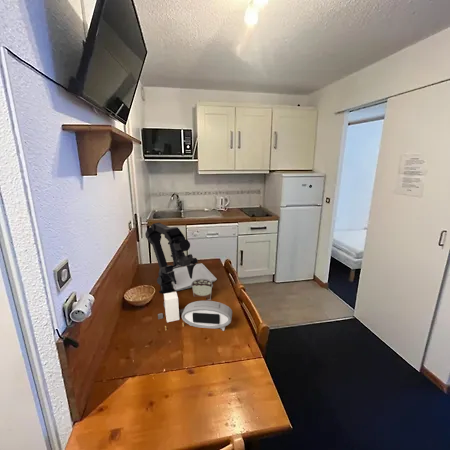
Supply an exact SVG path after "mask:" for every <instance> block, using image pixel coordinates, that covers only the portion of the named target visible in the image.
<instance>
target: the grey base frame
mask: <svg viewBox="0 0 450 450" xmlns="http://www.w3.org/2000/svg"><path fill="white" fill-rule="evenodd" d="M163 307H164V308H165V302H164V301H163ZM184 309H185V308H181V309H179V314H180V315H181V316H182V313H183V311H184ZM157 319H158V320H160V319H161V320H162V319H164V314H163V313H162V312H161V313H158V314H157ZM184 323H185V322H184V321H182V327H185V324H184ZM164 330H165V331H167V326H166V325H164Z"/></svg>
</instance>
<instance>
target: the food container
mask: <svg viewBox="0 0 450 450" xmlns="http://www.w3.org/2000/svg"><path fill="white" fill-rule="evenodd" d="M191 286H192V287H191V289H192V294H193V297H194V298H195V297H196V298H206V301H212V288H214V284H213V282H211V281H210V280H208V279H197V280H195V281H193V282H192V284H191Z"/></svg>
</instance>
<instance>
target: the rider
mask: <svg viewBox="0 0 450 450" xmlns="http://www.w3.org/2000/svg"><path fill="white" fill-rule="evenodd" d="M163 300H164V301H163V303H164V302H165V307H164V311H165V313H164V314H165V318H166V319H165V321H166V323H170V322H175V321H180V309H179V297H178V293H177V291H173V292H171V293H165V294H163Z"/></svg>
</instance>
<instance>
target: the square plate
mask: <svg viewBox="0 0 450 450" xmlns="http://www.w3.org/2000/svg"><path fill="white" fill-rule="evenodd" d="M195 264H196V265H195V266H194V268H193V274H192V279H191V278H190V276H189V273H188V269H187V265H186V266H185V267H182V266H181V267H178V268H175V269H173V271H174V274H175V279H176V284H175V283H174V282H172V289H174V291H175V292H178V291H183V290H186V289H192V286H191V284H192V282H193V281H195V280H197V279H208V280H210V281H211V282H212V283H214V282H216V281H217V280H218V279H217V277H216V276H215V275H214V274H213V272H211V271H210V270H209V269H208V268H207V267H206V266H205V264H203V263H201V262H200V263H195Z"/></svg>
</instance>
